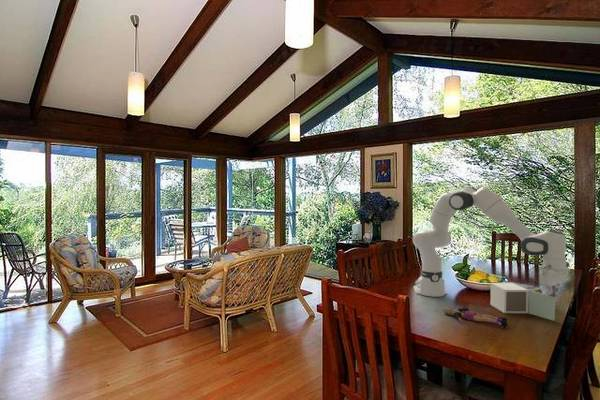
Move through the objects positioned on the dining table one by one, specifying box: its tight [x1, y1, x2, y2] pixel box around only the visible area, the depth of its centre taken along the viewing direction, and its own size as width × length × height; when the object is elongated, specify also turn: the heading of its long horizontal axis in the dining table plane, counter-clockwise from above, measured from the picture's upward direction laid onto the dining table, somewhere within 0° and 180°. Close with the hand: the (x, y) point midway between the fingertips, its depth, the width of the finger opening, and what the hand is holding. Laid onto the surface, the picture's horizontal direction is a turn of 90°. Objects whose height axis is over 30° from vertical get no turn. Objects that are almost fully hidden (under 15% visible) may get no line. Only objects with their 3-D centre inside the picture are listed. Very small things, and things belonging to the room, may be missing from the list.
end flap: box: [527, 284, 558, 322], centre depth 172 cm, size 2×12×17 cm, turn 27°
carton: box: [489, 282, 529, 314], centre depth 185 cm, size 14×12×12 cm
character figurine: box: [442, 306, 508, 329], centre depth 169 cm, size 20×4×28 cm
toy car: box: [489, 281, 543, 295], centre depth 198 cm, size 11×25×10 cm, turn 31°
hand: (553, 292), depth 168 cm, fingers open, 5 cm apart
